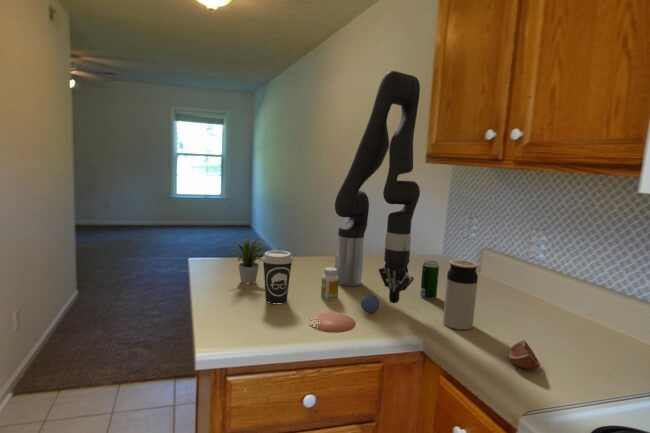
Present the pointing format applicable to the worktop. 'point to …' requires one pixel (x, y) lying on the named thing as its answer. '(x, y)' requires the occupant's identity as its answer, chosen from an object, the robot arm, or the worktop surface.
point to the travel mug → (460, 294)
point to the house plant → (249, 261)
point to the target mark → (334, 322)
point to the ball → (370, 303)
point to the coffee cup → (277, 275)
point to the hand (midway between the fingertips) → (393, 302)
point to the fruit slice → (523, 355)
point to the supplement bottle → (329, 284)
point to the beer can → (429, 279)
